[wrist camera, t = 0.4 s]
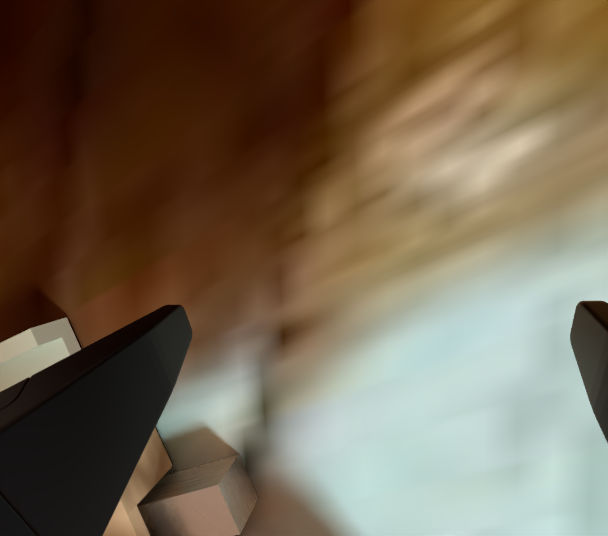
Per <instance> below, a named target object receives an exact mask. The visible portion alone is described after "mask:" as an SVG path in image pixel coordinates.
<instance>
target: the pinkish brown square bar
mask: <svg viewBox="0 0 608 536" xmlns="http://www.w3.org/2000/svg"><path fill="white" fill-rule="evenodd" d="M258 498H259V497H258V495H257V493H256V491H255V488H254V486H253V484H252V482H251V479H250V477H249V475H248V473H247V470H246V468H245V466H244V464H243V461H242V459H241V457H240V455H239V454H237V455H234V456H230V457H227V458H223V459H220V460H217V461H213V462H210V463H207V464H203V465H200V466H196V467H193V468H190V469H186V470H183V471H179V472H176V473H173V474H169V475H166V476H163V477H162V478H161V479H160V480H159V481H158V482H157V484H156V485H155V486H154V487H153V488H152V489H151V490H150V491H149V492H148V493H147V494H146V496H145V497H144V498H143V499H142V500H141V501H140V502H139V503H138V504H137V507H138V510H139V512H140V514H141V516H142V518H143V521H144V523H145V525H146V527H147V529H148V531H149V534H150V536H235V535H239V534H240V533H241V532H242V530H243V528H244V526H245V524H246V522H247V520H248V518H249V516H250V514H251V512H252V510H253V508H254V506H255V504H256V502H257V500H258Z"/></svg>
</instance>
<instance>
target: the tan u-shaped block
mask: <svg viewBox="0 0 608 536" xmlns="http://www.w3.org/2000/svg"><path fill="white" fill-rule="evenodd" d="M171 467H172V463H171V461H170V459H169V457H168V455H167V452H166V450H165V448H164V446H163V444H162V441H161V439H160V437H159V435H158V432H157V430H156V428H155V429H154V431H153V433H152V435H151V437H150V439H149V441H148V443H147V445H146V447H145V449H144V451H143V453H142V456H141V458H140V460H139V462H138V464H137V466H136V468H135V470H134V472H133V474H132V476H131V478H130V480H129V482H128V485H127V487H126V489H125V491H124V493H123V495H122V497H121V499H120V501H119V503H118V505H117V507H116V509H115V511H114V513H113V516H112V518H111V520H110V522H109V524H108V526H107V528H106V530H105V532H104V534H103V536H150V534H149V531H148V529H147V527H146V525H145V523H144V521H143V518H142V516H141V514H140V512H139V510H138V507H137V504H138V503H139V502H140V501H141V500H142V499H143V498H144V497H145V496H146V494H147V493H148V492H149V491H150V490H151V489H152V488H153V487H154V486H155V485H156V484H157V482H158V481H159V480H160V479H161V478H162V477H163V476H164V475H165V474H166V473H167V472H168V470H169V469H170V468H171Z"/></svg>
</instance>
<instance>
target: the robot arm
mask: <svg viewBox="0 0 608 536" xmlns="http://www.w3.org/2000/svg"><path fill="white" fill-rule="evenodd" d="M191 339H192V329H191V326H190V323H189V320H188V318H187V315H186V312H185V310H184V308H183V307H182V306H181V305H165V306H163V307H161V308H159V309H157V310H155V311H154V312H152V313H150V314H148V315H146V316H144V317H142V318H140V319H138V320H136V321H134V322H133V323H131V324H129V325H127V326H125V327H123V328H121V329H119V330H117V331H115V332H114V333H112V334H110V335H108V336H106V337H104V338H102V339H100V340H98V341H96V342H95V343H93V344H91V345H89V346H87V347H85V348H83V349H81V350H79V351H77V352H76V353H74V354H72V355H70V356H68V357H66V358H64V359H62V360H60V361H58V362H56V363H55V364H53V365H51V366H49V367H47V368H45V369H43V370H41V371H39V372H37V373H36V374H34V375H32V376H31V378H30V377H28V378H26V379H24V380H22V381H20V382H18V383H16V384H15V385H13V386H11V387H9V388H7V389H5V390H3V391H1V392H0V536H103V534H104V532H105V530H106V528H107V526H108V524H109V522H110V520H111V518H112V516H113V513H114V511H115V509H116V507H117V505H118V503H119V501H120V499H121V497H122V495H123V493H124V491H125V489H126V487H127V485H128V482H129V480H130V478H131V476H132V474H133V472H134V470H135V468H136V466H137V464H138V462H139V460H140V458H141V456H142V453H143V451H144V449H145V447H146V445H147V443H148V441H149V439H150V437H151V435H152V433H153V431H154V429H155V427H156V424H157V422H158V420H159V418H160V416H161V414H162V412H163V410H164V408H165V406H166V404H167V402H168V400H169V398H170V395H171V393H172V391H173V389H174V386H175V384H176V381H177V378H178V376H179V373H180V370H181V367H182V364H183V362H184V359H185V356H186V353H187V351H188V348H189V345H190V342H191ZM570 341H571V345H572V349H573V352H574V355H575V358H576V361H577V364H578V367H579V370H580V373H581V376H582V379H583V383H584V386H585V389H586V392H587V395H588V398H589V401H590V404H591V407H592V409H593V412H594V414H595V417H596V419H597V421H598V423H599V426H600V428H601V430H602V432H603V434H604V436H605V438H606V441H607V443H608V303H606V302H604V301H581V302H579V303H578V305H577V306H576V310H575V314H574V319H573V324H572V328H571V333H570Z"/></svg>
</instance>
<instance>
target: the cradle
mask: <svg viewBox="0 0 608 536" xmlns="http://www.w3.org/2000/svg"><path fill="white" fill-rule="evenodd" d="M79 350H81V348H80V346H79V343H78V341H77V339H76V337H75V335H74V332H73V330H72V328H71V326H70V324H69V321H68V319H67V317H66V318H63V319H59V320H56V321H53V322H49V323H46V324H43V325H40V326H36V327H33V328H30V329H28V330H26V331H24V332H22V333H20V334H18V335H16V336H14V337H12V338H9V339H7V340H5V341H3V342H1V343H0V392H1V391H3V390H5V389H7V388H9V387H11V386H13V385H15V384H16V383H18V382H20V381H22V380H24V379H26V378H28V377H30V378H31V376H32V375H34V374H36V373H37V372H39V371H41V370H43V369H45V368H47V367H49V366H51V365H53V364H55V363H56V362H58V361H60V360H62V359H64V358H66V357H68V356H70V355H72V354H74V353H76V352H77V351H79Z"/></svg>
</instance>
